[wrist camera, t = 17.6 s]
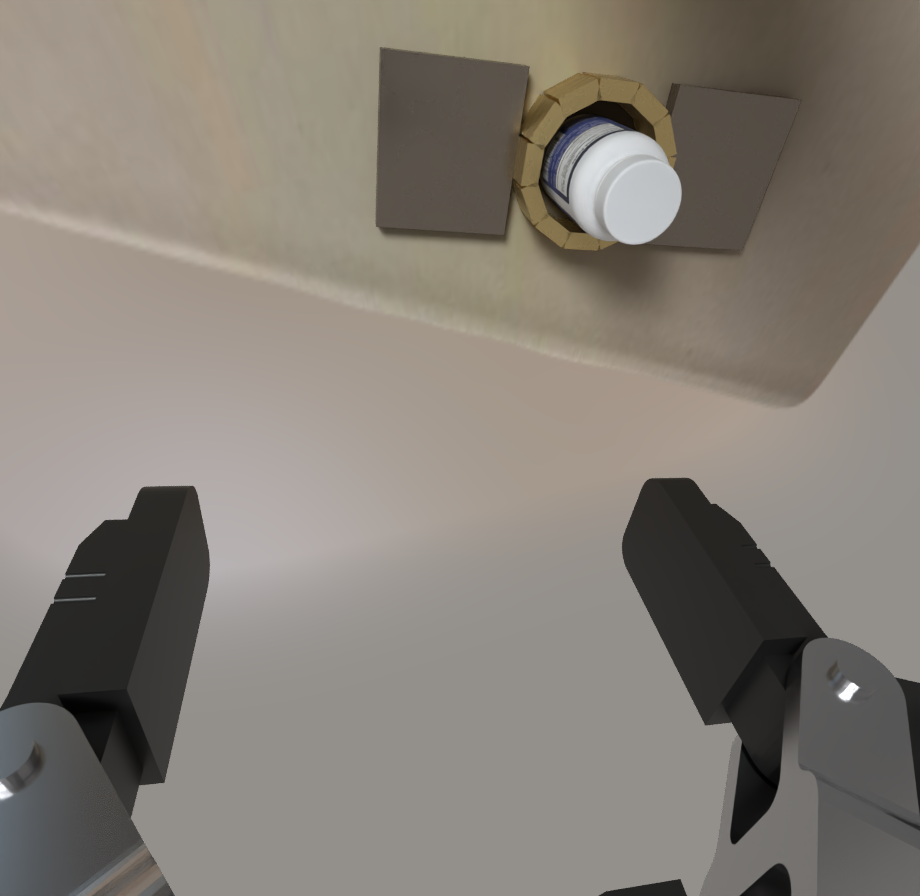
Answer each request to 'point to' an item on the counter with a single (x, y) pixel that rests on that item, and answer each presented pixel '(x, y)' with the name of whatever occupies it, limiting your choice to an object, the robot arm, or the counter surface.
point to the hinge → (520, 155)
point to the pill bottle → (610, 180)
